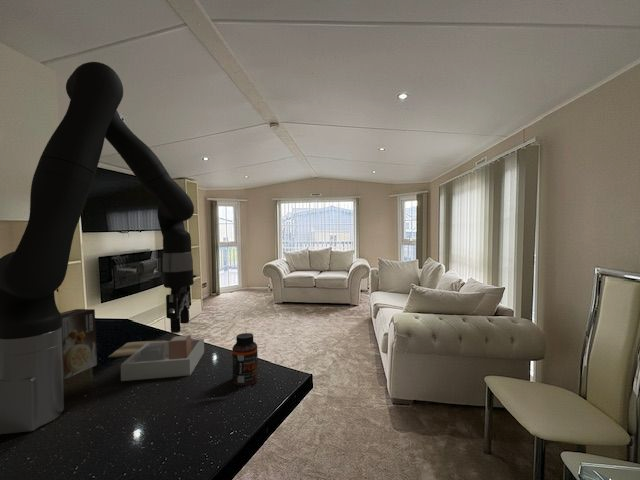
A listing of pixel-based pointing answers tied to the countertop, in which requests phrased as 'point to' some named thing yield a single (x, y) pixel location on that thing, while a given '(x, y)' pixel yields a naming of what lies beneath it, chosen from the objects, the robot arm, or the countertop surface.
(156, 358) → the plain block
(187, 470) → the countertop surface
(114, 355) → the board
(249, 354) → the supplement bottle
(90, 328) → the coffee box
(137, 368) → the bin
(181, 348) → the labelled block
